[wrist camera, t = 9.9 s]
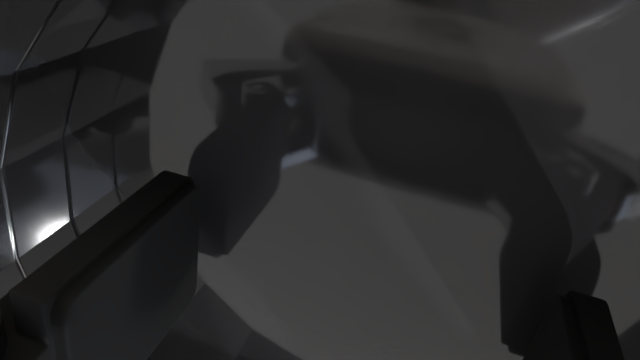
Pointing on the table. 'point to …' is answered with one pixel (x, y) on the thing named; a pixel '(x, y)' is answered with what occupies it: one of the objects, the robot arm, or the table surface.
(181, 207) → the robot arm
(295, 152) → the pan
